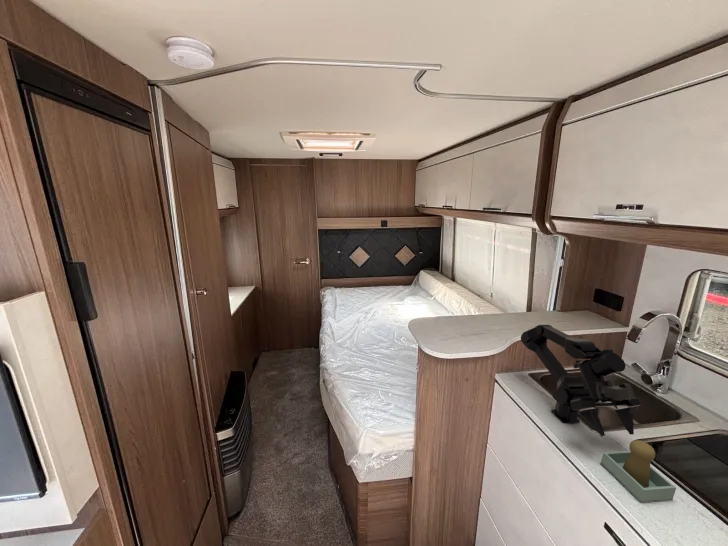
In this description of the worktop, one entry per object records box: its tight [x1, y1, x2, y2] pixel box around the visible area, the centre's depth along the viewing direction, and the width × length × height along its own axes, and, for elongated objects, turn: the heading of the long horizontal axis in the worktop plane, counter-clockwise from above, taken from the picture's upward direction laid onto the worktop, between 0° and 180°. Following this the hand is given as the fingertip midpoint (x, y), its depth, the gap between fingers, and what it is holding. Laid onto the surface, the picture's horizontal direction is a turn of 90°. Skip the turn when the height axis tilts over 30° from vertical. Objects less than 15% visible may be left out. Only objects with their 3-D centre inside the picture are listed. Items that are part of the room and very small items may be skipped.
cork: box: [622, 439, 656, 488], centre depth 84 cm, size 6×6×11 cm
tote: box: [600, 450, 677, 504], centre depth 85 cm, size 12×9×4 cm
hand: (617, 435), depth 90 cm, fingers open, 9 cm apart
